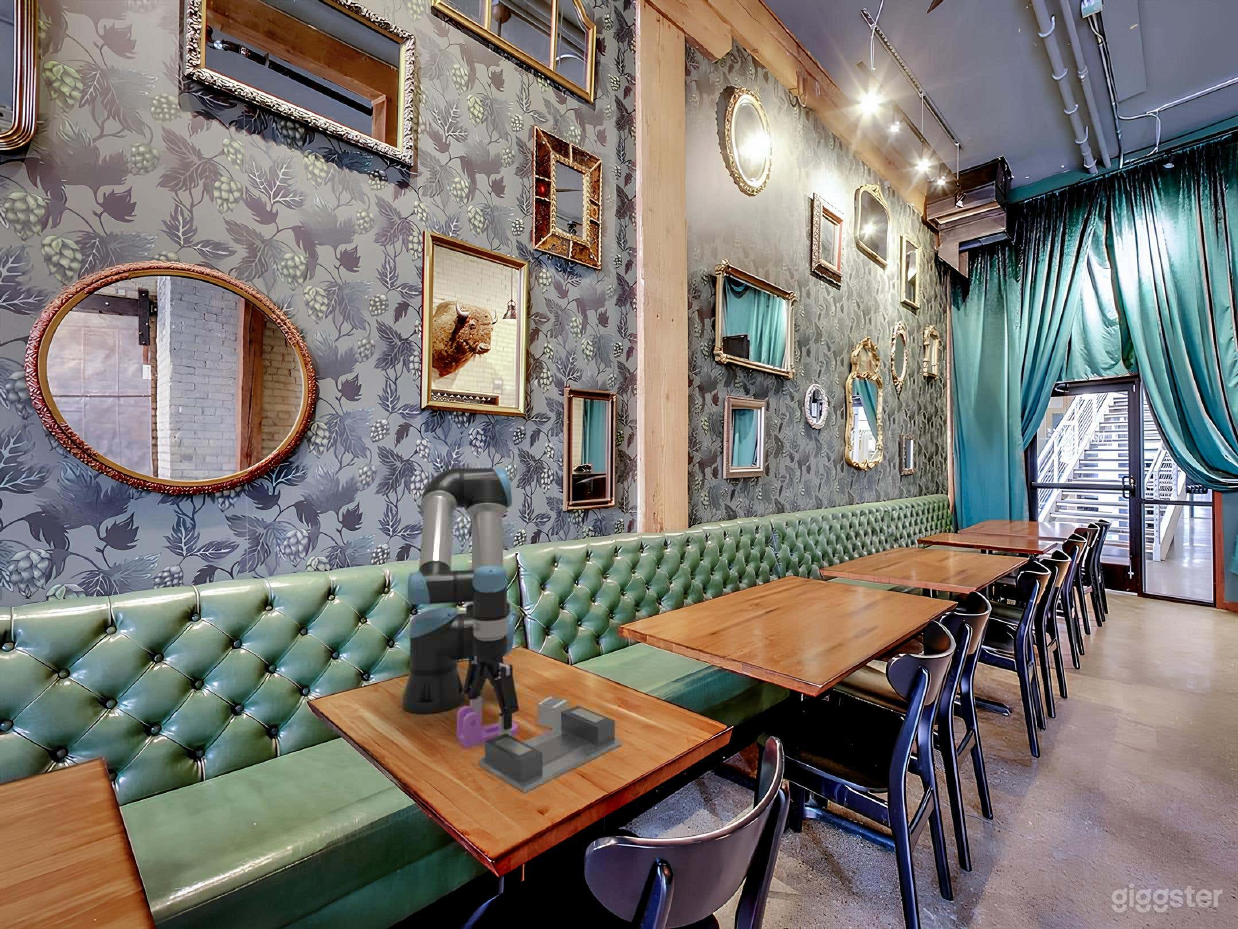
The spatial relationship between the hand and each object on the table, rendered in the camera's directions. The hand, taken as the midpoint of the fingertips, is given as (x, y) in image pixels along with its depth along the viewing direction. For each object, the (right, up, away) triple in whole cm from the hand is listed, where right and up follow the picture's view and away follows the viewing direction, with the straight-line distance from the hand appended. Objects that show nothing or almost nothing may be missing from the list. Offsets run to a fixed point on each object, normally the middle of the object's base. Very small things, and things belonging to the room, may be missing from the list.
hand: (490, 735), depth 130 cm
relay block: (+13, 0, +7) cm, 15 cm away
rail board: (+15, 0, -9) cm, 17 cm away
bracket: (0, -1, 0) cm, 1 cm away
